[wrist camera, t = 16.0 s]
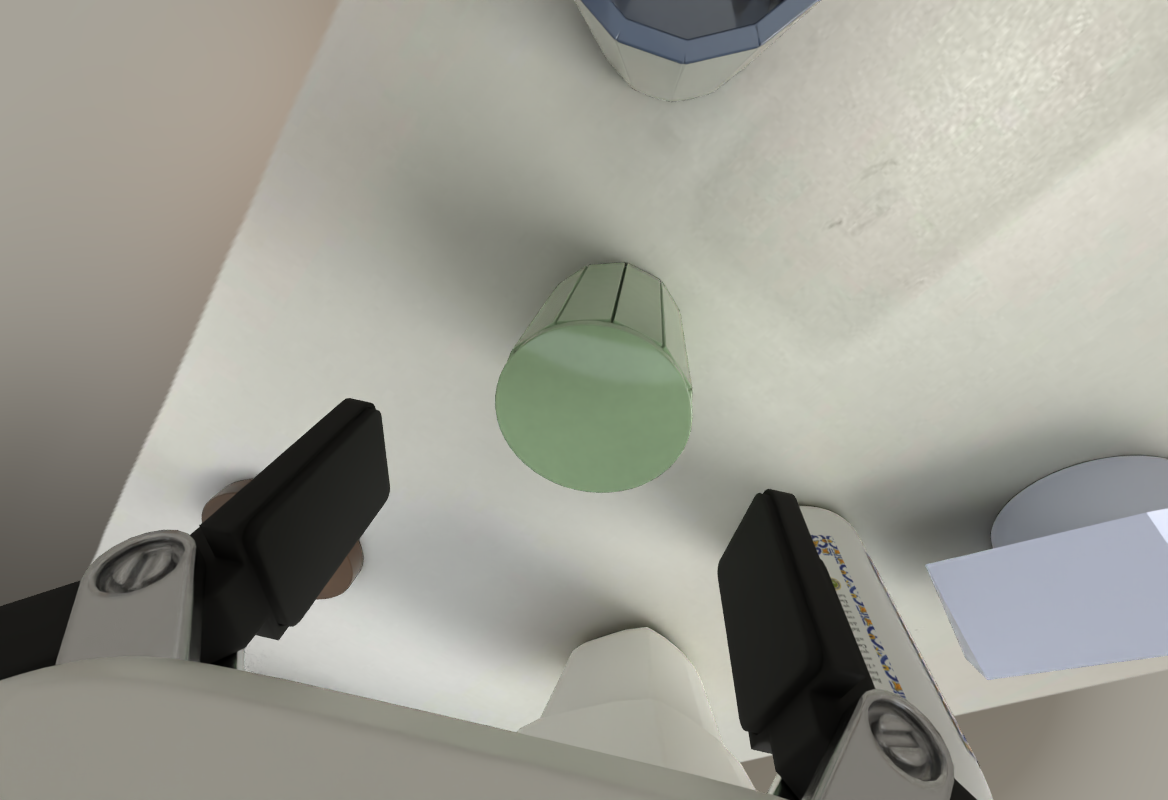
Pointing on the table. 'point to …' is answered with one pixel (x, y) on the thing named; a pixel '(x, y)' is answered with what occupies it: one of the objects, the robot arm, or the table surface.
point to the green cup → (599, 382)
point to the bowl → (638, 707)
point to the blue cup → (686, 40)
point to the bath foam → (887, 637)
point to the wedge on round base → (1067, 573)
